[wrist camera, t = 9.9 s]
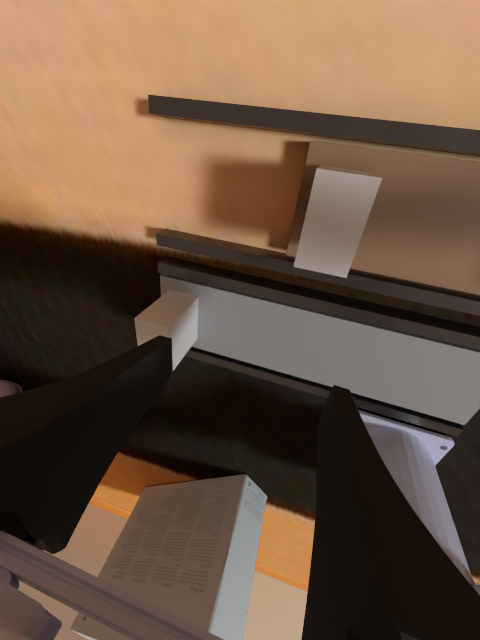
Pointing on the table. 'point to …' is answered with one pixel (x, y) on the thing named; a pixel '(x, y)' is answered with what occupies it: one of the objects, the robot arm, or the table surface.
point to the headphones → (9, 388)
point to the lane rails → (313, 299)
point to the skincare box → (188, 554)
